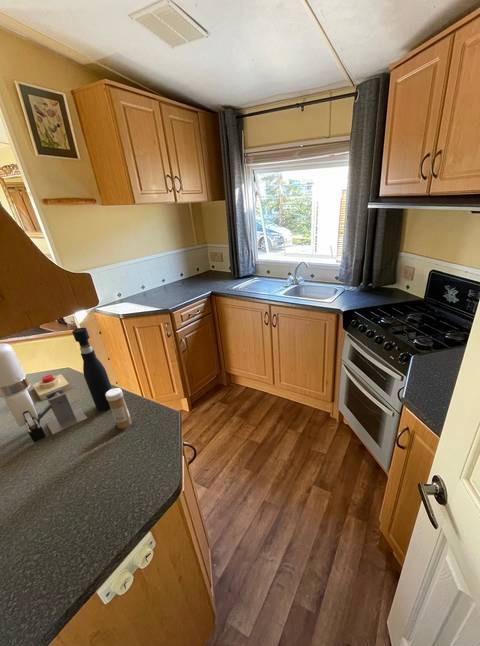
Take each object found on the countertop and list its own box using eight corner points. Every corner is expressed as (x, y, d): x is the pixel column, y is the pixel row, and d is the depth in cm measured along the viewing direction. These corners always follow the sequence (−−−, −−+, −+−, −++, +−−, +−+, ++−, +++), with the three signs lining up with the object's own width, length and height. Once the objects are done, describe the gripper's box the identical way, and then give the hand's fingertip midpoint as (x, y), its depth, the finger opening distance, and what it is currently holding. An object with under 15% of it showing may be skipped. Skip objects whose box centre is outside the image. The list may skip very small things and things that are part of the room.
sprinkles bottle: (135, 421, 95) (124, 387, 89) (127, 431, 91) (116, 396, 85) (122, 421, 96) (110, 387, 90) (114, 430, 92) (101, 396, 86)
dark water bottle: (121, 405, 104) (94, 328, 91) (103, 415, 99) (73, 335, 86) (111, 399, 107) (84, 324, 94) (93, 409, 102) (63, 331, 89)
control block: (70, 388, 116) (67, 380, 114) (41, 400, 109) (36, 391, 107) (62, 378, 123) (59, 370, 121) (34, 388, 117) (30, 380, 115)
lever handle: (35, 431, 88) (25, 427, 86) (33, 427, 90) (22, 422, 88) (66, 399, 92) (57, 394, 90) (63, 395, 94) (54, 390, 92)
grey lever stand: (53, 437, 90) (38, 406, 85) (47, 426, 95) (33, 396, 90) (88, 420, 97) (76, 391, 92) (81, 410, 102) (69, 382, 97)
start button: (55, 380, 114) (53, 376, 114) (44, 384, 112) (43, 380, 111) (53, 377, 117) (51, 373, 116) (42, 381, 114) (40, 377, 114)
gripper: (-9, 381, 86) (17, 427, 93) (-1, 404, 75) (28, 454, 82) (22, 370, 91) (44, 415, 98) (34, 391, 80) (58, 439, 87)
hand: (36, 433), depth 90 cm, fingers open, 7 cm apart
